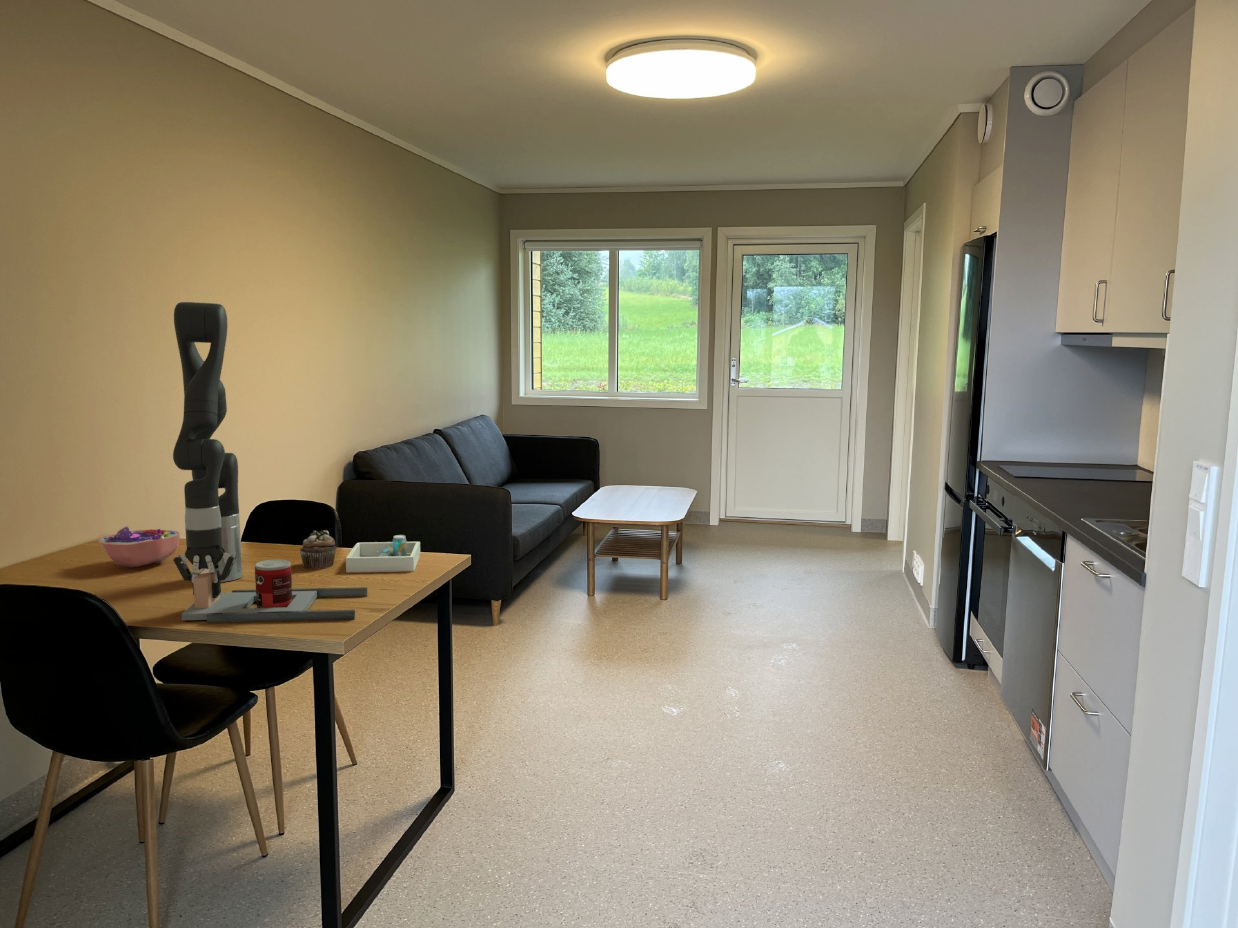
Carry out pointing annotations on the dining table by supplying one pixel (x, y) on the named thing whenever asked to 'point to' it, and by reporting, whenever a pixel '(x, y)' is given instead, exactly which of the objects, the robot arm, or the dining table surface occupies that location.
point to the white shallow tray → (381, 558)
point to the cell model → (140, 546)
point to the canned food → (273, 583)
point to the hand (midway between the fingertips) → (207, 597)
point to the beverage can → (395, 547)
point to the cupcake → (318, 550)
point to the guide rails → (294, 614)
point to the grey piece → (235, 600)
